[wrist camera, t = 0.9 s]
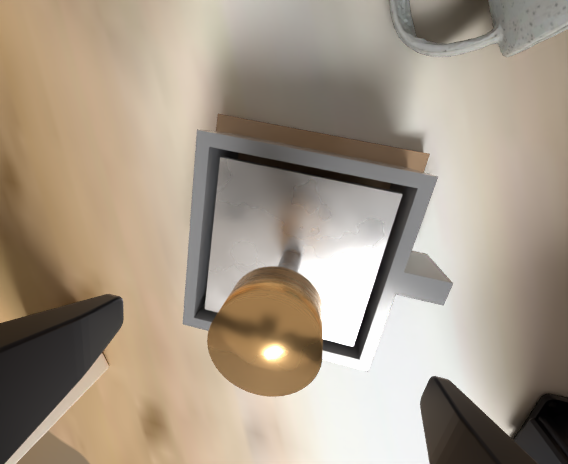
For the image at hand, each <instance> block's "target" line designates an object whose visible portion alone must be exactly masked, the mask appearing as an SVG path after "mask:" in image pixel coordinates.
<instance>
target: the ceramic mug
mask: <svg viewBox="0 0 568 464" xmlns="http://www.w3.org/2000/svg"><path fill="white" fill-rule="evenodd" d="M389 2H390V12H391V16H392V20H393V24H394V27H395V29H396V32H397V34H398V36H399V38H400V39H401V40H402V41H403V42H404V43H405V44H406V45H407V46H409V47H410V48H411V49H413V50H415V51H416V52H418V53H421V54H424V55H428V56H435V57H449V56H454V55H459V54H464V53H467V52H471V51H474V50H478V49H481V48H483V47H486V46H488V45H490V44H496V43H497V44H498V45H499V47H500V50H501V53H502V54H503V56H505V57H510V56H512V55H515V54H517V53H519V52H521V51H524V50H526V49H529V48H530V47H532V46H534V45H535V44H537V43H540V42H542V41H544V40H546V39H549V38H551V37H553V36H555V35H557V34H559V33H561V32H563V31H565V30H567V29H568V0H488V2H489V7H490V13H491V17H492V19H493V27H494V29H493V30H492V31H490V32H489V33H487V34H485V35H482V36H480V37H477V38H473V39H468V40H465V41H459V42H454V43H449V44H437V43H434V42H430V41H426V40H425V39H422V38H418V37H417V35H416V33H415V28H414V24H413V21H412V16H411V11H410V3H409V0H389Z"/></svg>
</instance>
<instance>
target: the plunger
mask: <svg viewBox="0 0 568 464" xmlns="http://www.w3.org/2000/svg"><path fill="white" fill-rule="evenodd" d="M402 195H403V194H402V193H400V192H397V191H392V190H387V189H382V188H377V187H372V186H367V185H363V184H358V183H353V182H348V181H343V180H338V179H333V178H328V177H323V176H318V175H313V174H308V173H303V172H298V171H293V170H288V169H283V168H278V167H273V166H269V165H264V164H259V163H254V162H249V161H244V160H239V159H234V158H229V157H220V164H219V173H218V183H217V193H216V203H215V213H214V222H213V232H212V242H211V252H210V261H209V271H208V281H207V291H206V300H205V309H206V310H210V311H214V312H218V313H217V315H216V317H215V318H214V320H213V322H212V323H211V325H210V328H209V332H208V339H207V343H208V350H209V354H210V356H211V359H212V361H213V363H214V365H215V366H216V368H217V369H218V370H219V372H220V373H221V374H222V375H223V376H224V377H225V378H226V379H227V380H228V381H230V382H231V383H233V384H234V385H235V386H237V387H239V388H241V389H243V390H245V391H247V392H250V393H253V394H257V395H262V396H284V395H289V394H292V393H295V392H297V391H299V390H301V389H303V388H305V387H306V386H307V385H309V384H310V383H311V382H312V381H313V379H314V378H315V377H316V375H317V374H318V372H319V370H320V367H321V363H322V353H323V339H326V340H330V341H334V342H338V343H342V344H346V345H350V346H353V345H354V342H355V339H356V336H357V333H358V330H359V327H360V324H361V321H362V318H363V315H364V312H365V308H366V305H367V302H368V299H369V296H370V293H371V290H372V287H373V284H374V281H375V278H376V275H377V272H378V268H379V265H380V262H381V259H382V256H383V253H384V250H385V247H386V244H387V241H388V238H389V235H390V232H391V228H392V225H393V222H394V219H395V216H396V213H397V210H398V207H399V204H400V201H401V198H402Z"/></svg>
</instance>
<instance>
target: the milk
mask: <svg viewBox="0 0 568 464" xmlns="http://www.w3.org/2000/svg"><path fill="white" fill-rule="evenodd" d="M108 368H109V365H108V363H107V361H106V359H105V357H104V355H103V353H101V355H100V356H99V357H98V359H97V360H96V361H95V363H94V364H93V365H92V366H91V368H90V369H89V370H88V371H87V373H86V374H85V375H84V376H83V377H82V379H81V380H80V381H79V382H78V383H77V384H76V385H75V387H74V388H73V389H72V390H71V391H70V392H69V393H68V394H67V395H66V397H65V398H64V399H63V400H62V401H61V402H60V403H59V404H58V405H57V406H56V408H55V409H54V410H53V411H52V412H51V413H50V414H49V415H48V416H47V418H46V419H45V420H44V421H43V422H42V423H41V424H40V425H39V426H38V427H37V429H36V430H35V431H34V432H33V433H32V434H31V435H30V436H29V437H28V439H27V440H26V441H25V442H24V443H23V444H22V445H21V446H20V447H19V449H18V450H17V451H16V452H15V453H14V454H13V455H12V456H11V457H10V458H9V460H8V461H7V462H6V463H5V464H16V463H17V462H18V461H19V460H20V458H22V457H23V456H24V454H26V453H27V451H28V450H29V449H30V448H31V447H32V446H33V445H34V444H35V443H36V442H37V441H38V440H39V439H40V438H41V437H42V436H43V435H44V434H45V433H46V432H47V431H48V430H49V429H50V428H51V427H52V426H53V425H54V424H55V423H56V422H57V421H58V420H59V419H60V417H61V416H62V415H63V414H64V413H65V412H66V411H67V410H68V409H69V408H70V407H71V406H72V405H73V404H74V403H75V402H76V401H77V400H78V399H79V398H80V397H81V396H82V395H83V394H84V393H85V392H86V391H87V390H88V389H89V388H90V387H91V386H92V385H93V383H94V382H95V381H96V380H97V379H98V378H99V377H100V376H101V375H102V374H103V373H104V372H105V371H106V370H107V369H108Z"/></svg>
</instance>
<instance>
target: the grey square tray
mask: <svg viewBox="0 0 568 464" xmlns="http://www.w3.org/2000/svg"><path fill="white" fill-rule="evenodd" d="M429 155H430V154H428V153H422V152H417V151H412V150H406V149H401V148H396V147H391V146H385V145H380V144H375V143H370V142H364V141H359V140H354V139H348V138H343V137H338V136H333V135H327V134H322V133H317V132H311V131H306V130H301V129H296V128H290V127H285V126H280V125H275V124H269V123H264V122H259V121H253V120H248V119H243V118H238V117H232V116H227V115H222V114H218V117H217V127H216V131H205V130H197V137H196V151H195V164H194V178H193V192H192V205H191V219H190V232H189V246H188V259H187V273H186V287H185V300H184V314H183V324H184V325H188V326H191V327H195V328H199V329H203V330H207V331H209V328H210V325H211V323H212V322H213V320H214V318H215V317H216V315H217V313H218V312H214V311H210V310H206V309H205V300H206V291H207V281H208V271H209V261H210V252H211V242H212V232H213V222H214V213H215V203H216V193H217V183H218V173H219V164H220V157H229V158H234V159H239V160H244V161H249V162H254V163H259V164H264V165H269V166H273V167H278V168H283V169H288V170H293V171H298V172H303V173H308V174H313V175H318V176H323V177H328V178H333V179H338V180H343V181H348V182H353V183H358V184H363V185H367V186H372V187H377V188H382V189H387V190H392V191H397V192H400V193H402V194H403V195H402V198H401V201H400V204H399V207H398V210H397V213H396V216H395V219H394V222H393V225H392V228H391V232H390V235H389V238H388V241H387V244H386V247H385V250H384V253H383V256H382V259H381V262H380V265H379V268H378V272H377V275H376V278H375V281H374V284H373V287H372V290H371V293H370V296H369V299H368V302H367V305H366V308H365V312H364V315H363V318H362V321H361V324H360V327H359V330H358V333H357V336H356V339H355V342H354V345H353V346H350V345H346V344H342V343H338V342H334V341H330V340H326V339H323V353H322V360H324V361H328V362H332V363H336V364H340V365H344V366H347V367H351V368H355V369H359V370H363V371H367V372H368V370H369V368H370V365H371V362H372V359H373V357H374V354H375V351H376V348H377V345H378V343H379V340H380V337H381V334H382V331H383V329H384V326H385V323H386V320H387V318H388V315H389V312H390V309H391V306H392V304H393V301H394V298H395V295H396V294H397V295H401V296H405V297H410V298H414V299H418V300H422V301H427V302H431V303H435V304H440V305H444V303H445V301H446V299H447V296H448V294H449V292H450V289H451V287H452V285H453V283H452V282H451V280H450V279H449V278H448V277H447V276H446V275H445V274H444V273H443V272H442V270H441V269H440V268H439V267H438V266H437V265H436V264H435V263H434V261H433V260H432V259H431V258H430V257H429V256H428V255H427V254H425V253H420V252H415V251H412V248H413V245H414V243H415V240H416V237H417V234H418V231H419V229H420V226H421V223H422V220H423V218H424V215H425V212H426V209H427V206H428V204H429V201H430V198H431V195H432V193H433V190H434V187H435V184H436V181H437V179H438V177H437V176H434V175H431V174H427V173H424V170H425V167H426V164H427V161H428V158H429Z"/></svg>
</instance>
